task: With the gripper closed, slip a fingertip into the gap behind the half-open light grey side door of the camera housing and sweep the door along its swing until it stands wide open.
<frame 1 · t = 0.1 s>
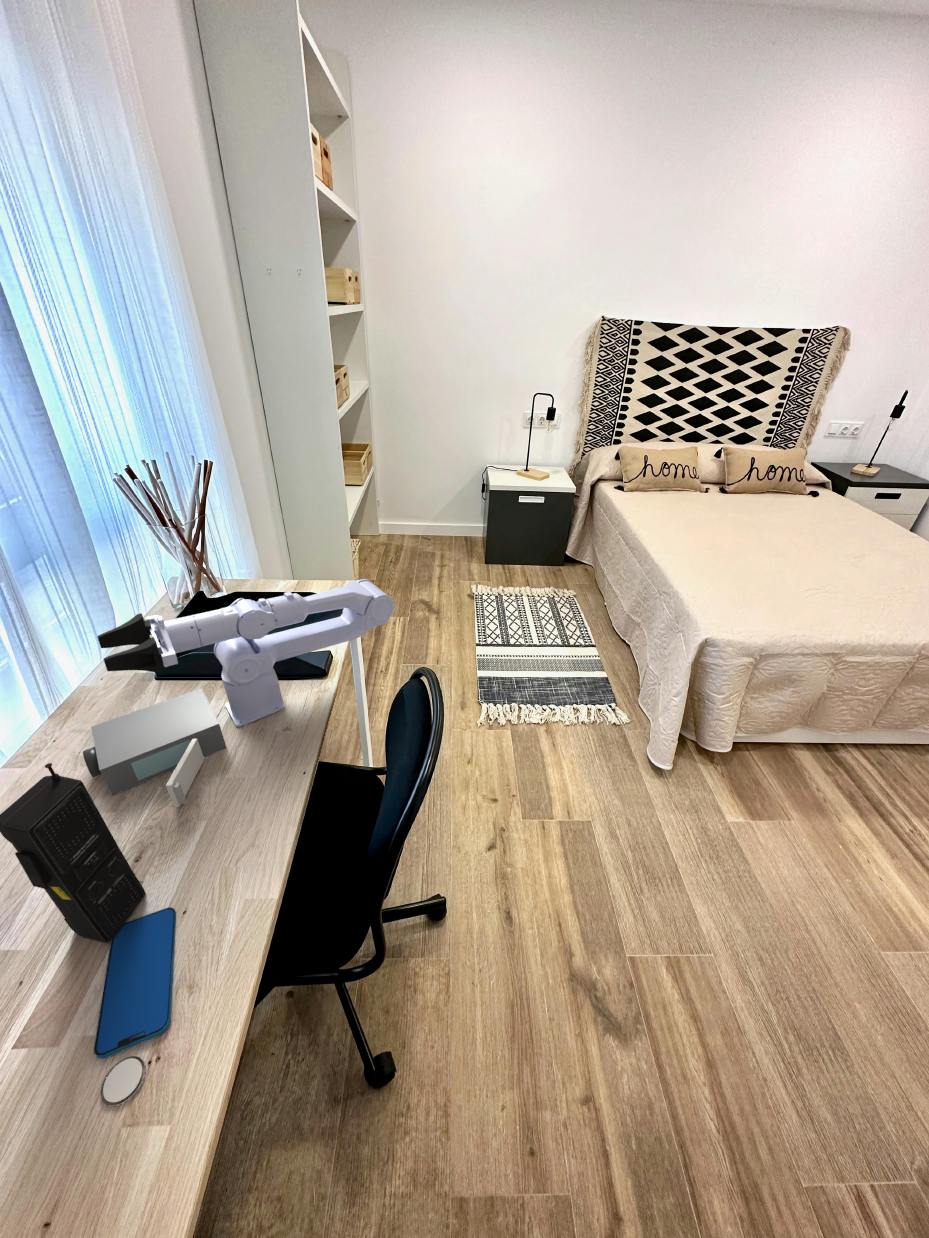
hand: (101, 653, 80), 22 cm above the table, tool horizontal, fingers open, 7 cm apart
white round disc: (125, 1082, 53), on the table
camera housing: (165, 749, 92), on the table
side door: (188, 771, 84), point 3 cm above the table, hinge at 55.0°
portable radio: (110, 918, 67), on the table
smartphone: (141, 977, 62), on the table
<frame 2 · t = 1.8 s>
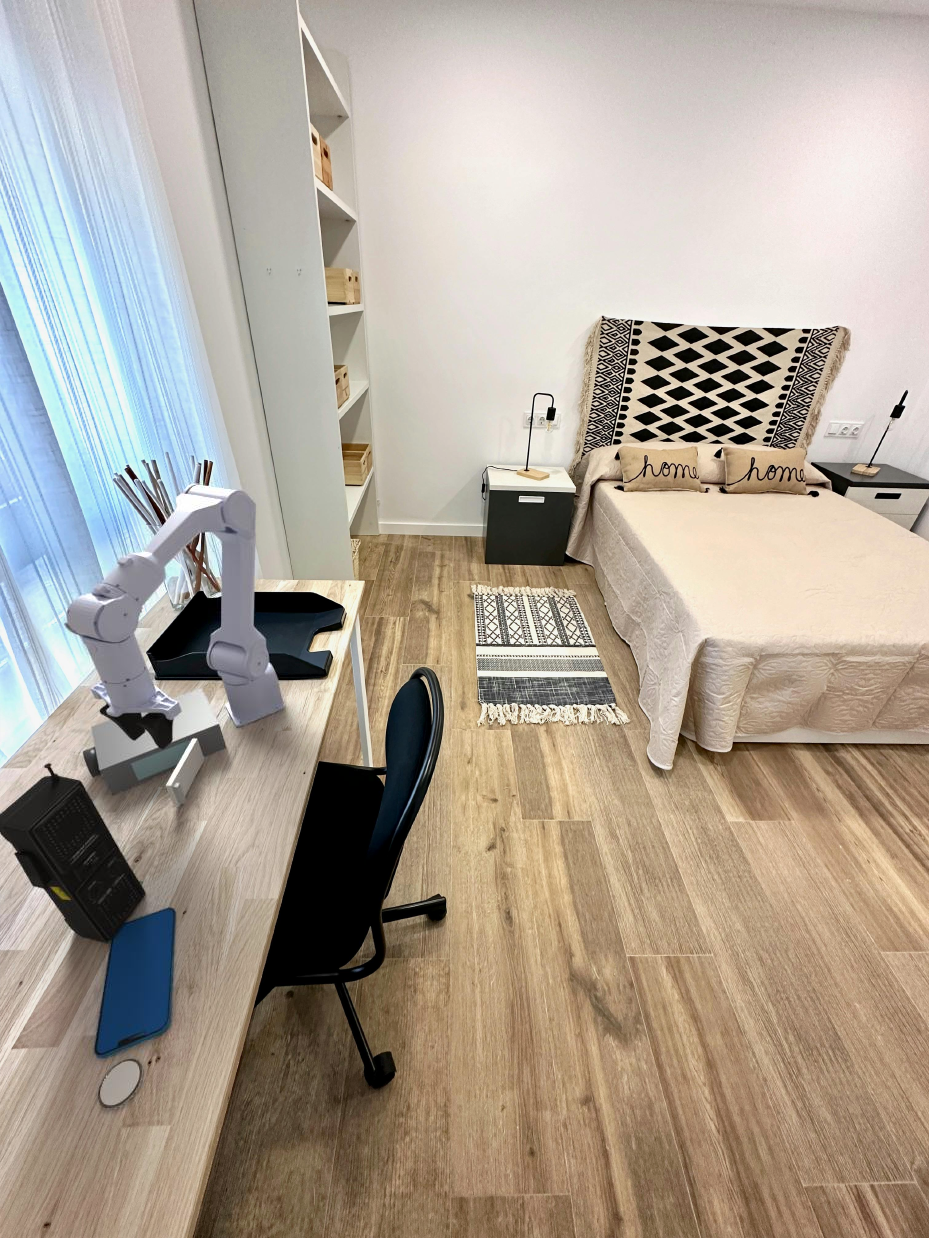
hand: (152, 740, 80), 10 cm above the table, tool pointing down, fingers open, 5 cm apart
nothing on the table moved.
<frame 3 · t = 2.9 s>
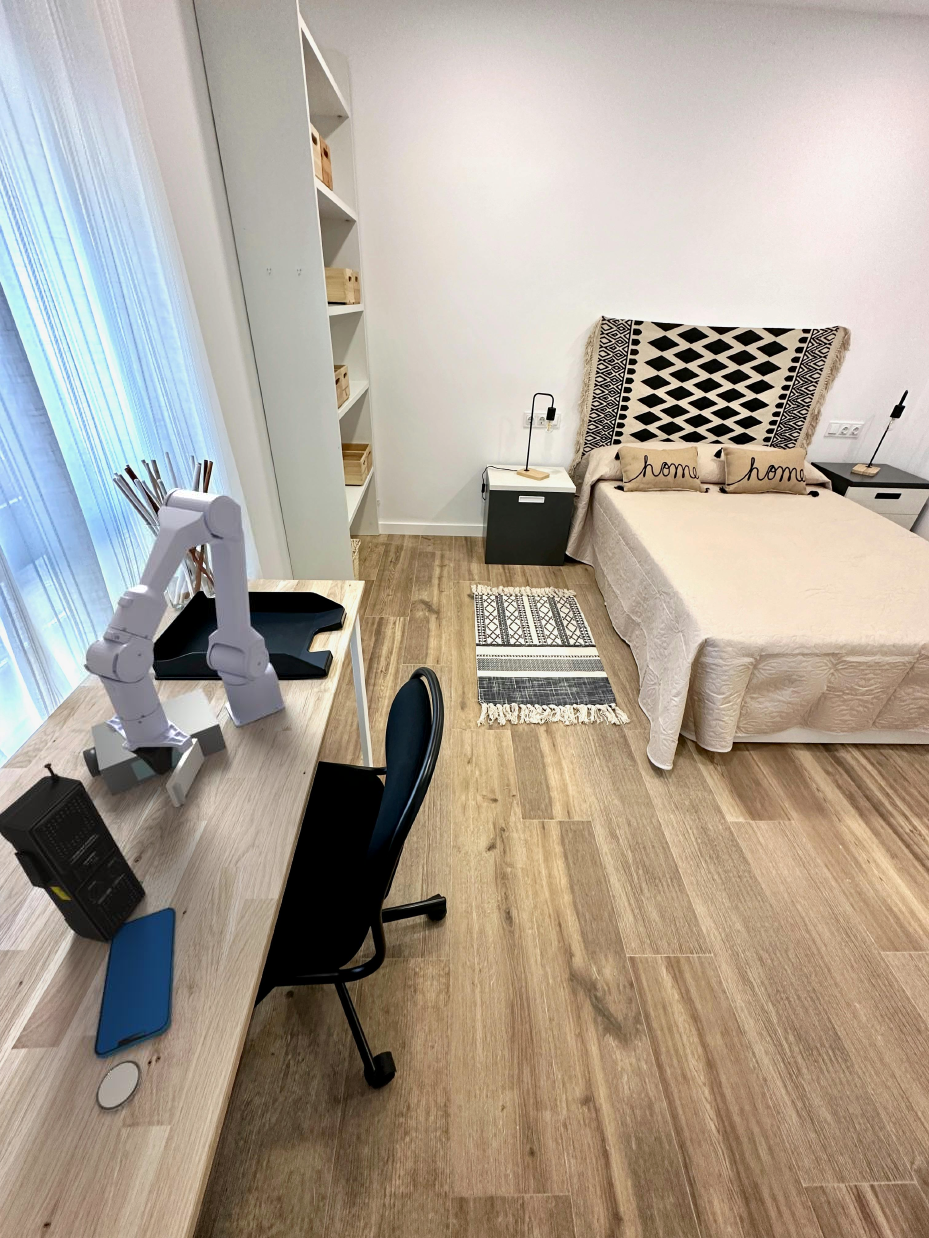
hand: (164, 770, 84), 4 cm above the table, tool pointing down, fingers closed
nothing on the table moved.
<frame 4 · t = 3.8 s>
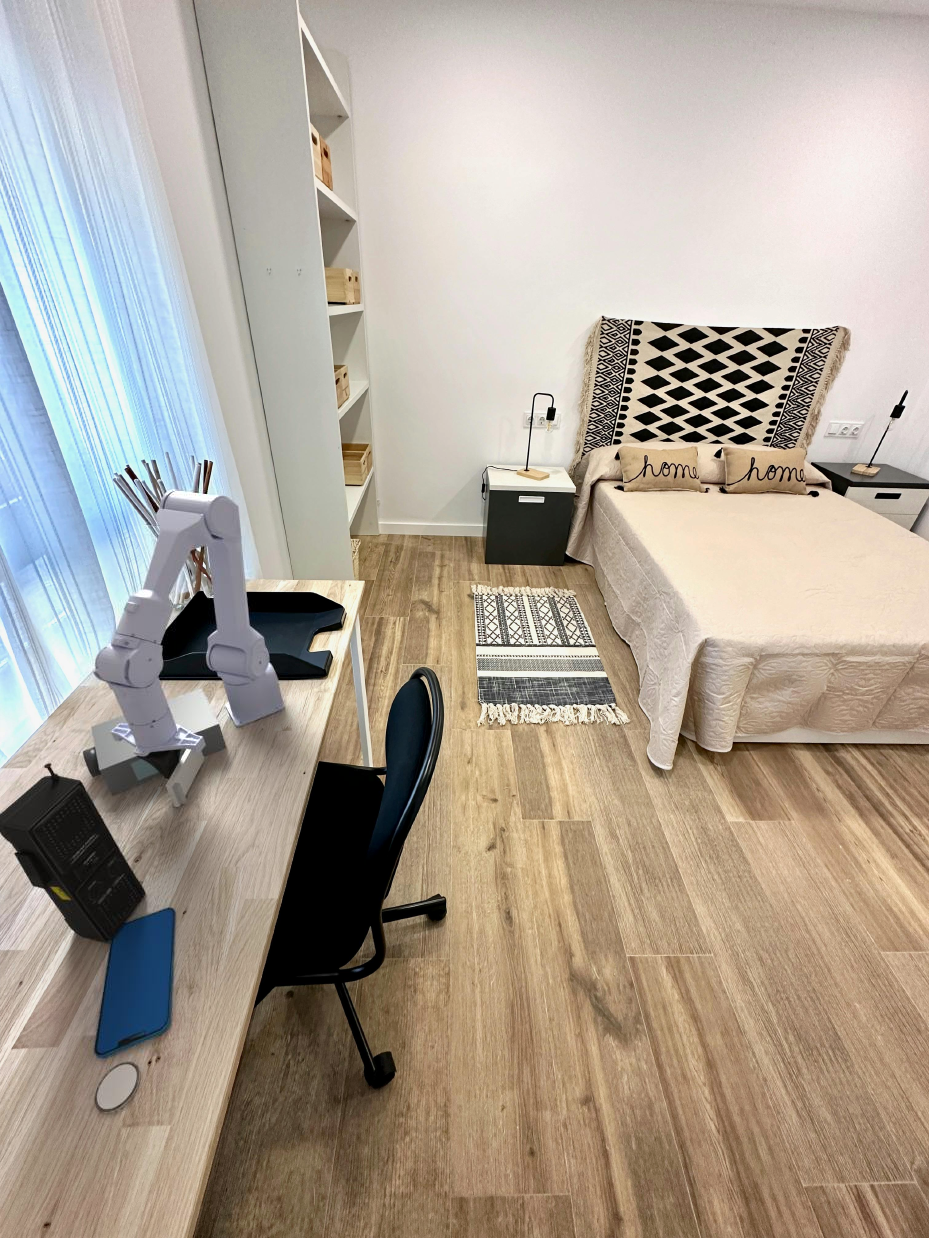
hand: (173, 774, 84), 3 cm above the table, tool pointing down, fingers closed
side door: (188, 771, 84), point 3 cm above the table, hinge at 55.0°, touching gripper
everything else where it was.
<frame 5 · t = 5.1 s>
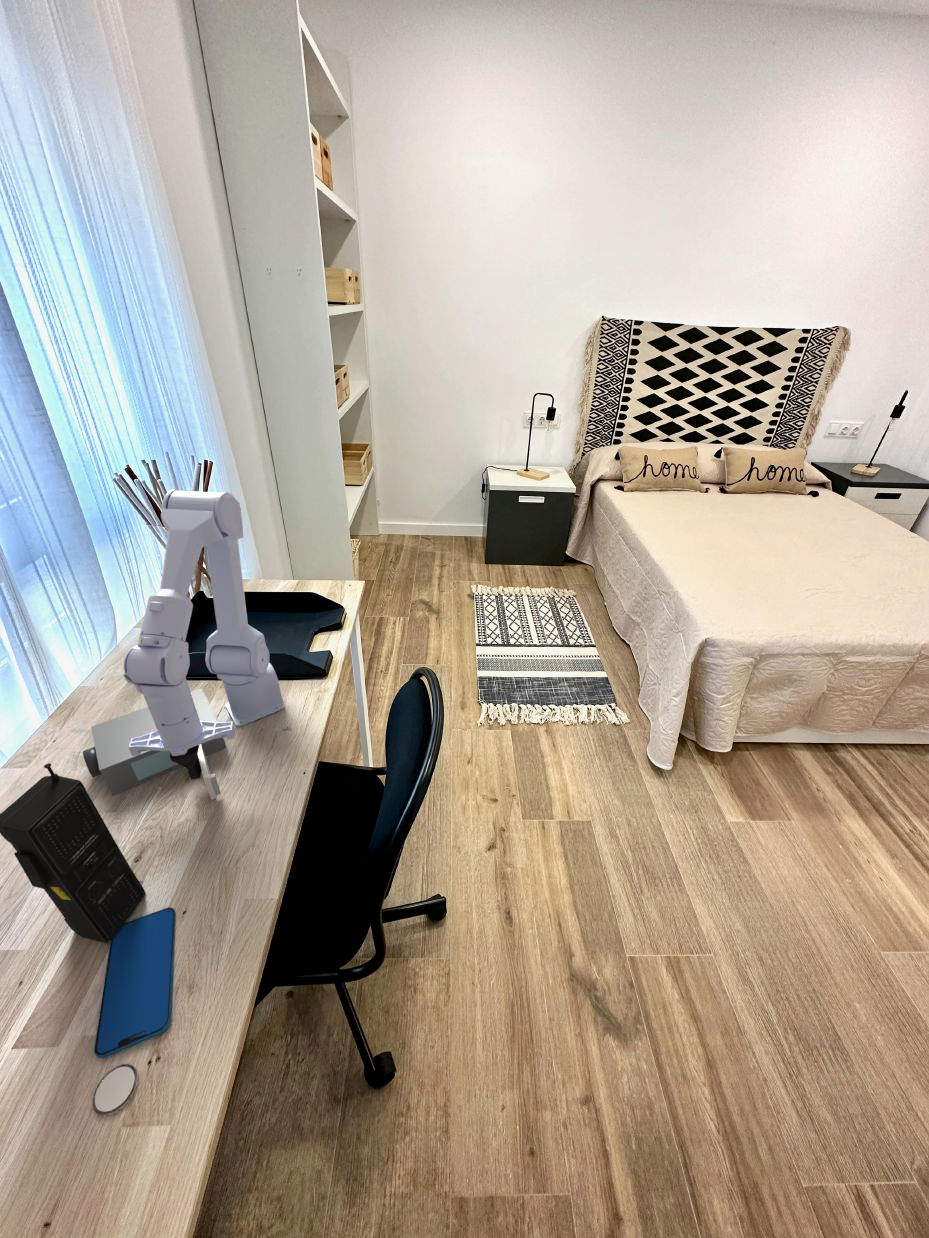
hand: (197, 774, 84), 3 cm above the table, tool pointing down, fingers closed, pressing on side door
side door: (207, 766, 85), point 3 cm above the table, hinge at 85.0°, touching gripper
everything else where it was.
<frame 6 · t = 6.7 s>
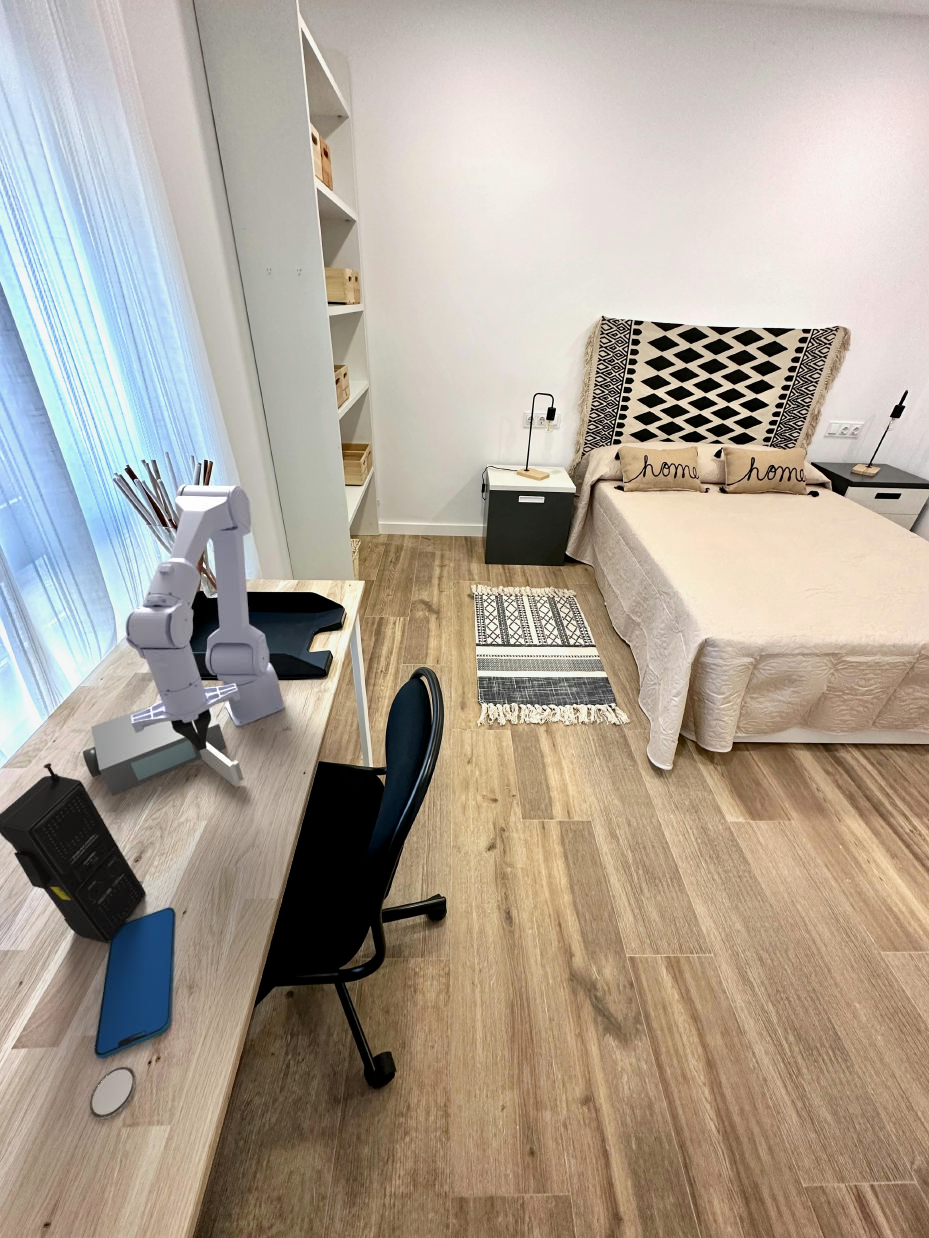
hand: (201, 745, 82), 9 cm above the table, tool pointing down, fingers closed
side door: (219, 760, 87), point 3 cm above the table, hinge at 106.8°
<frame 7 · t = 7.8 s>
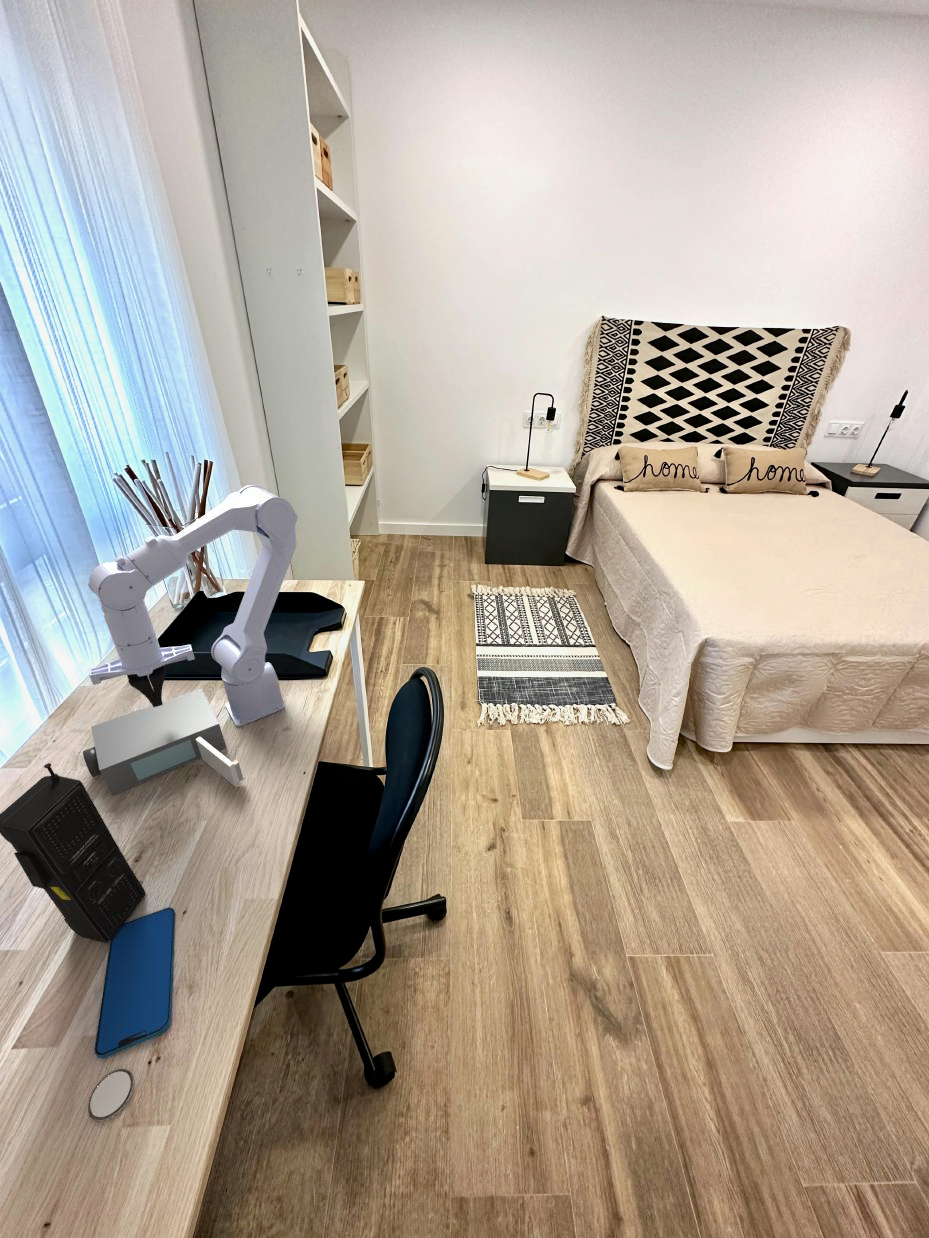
hand: (157, 702, 87), 10 cm above the table, tool pointing down, fingers closed
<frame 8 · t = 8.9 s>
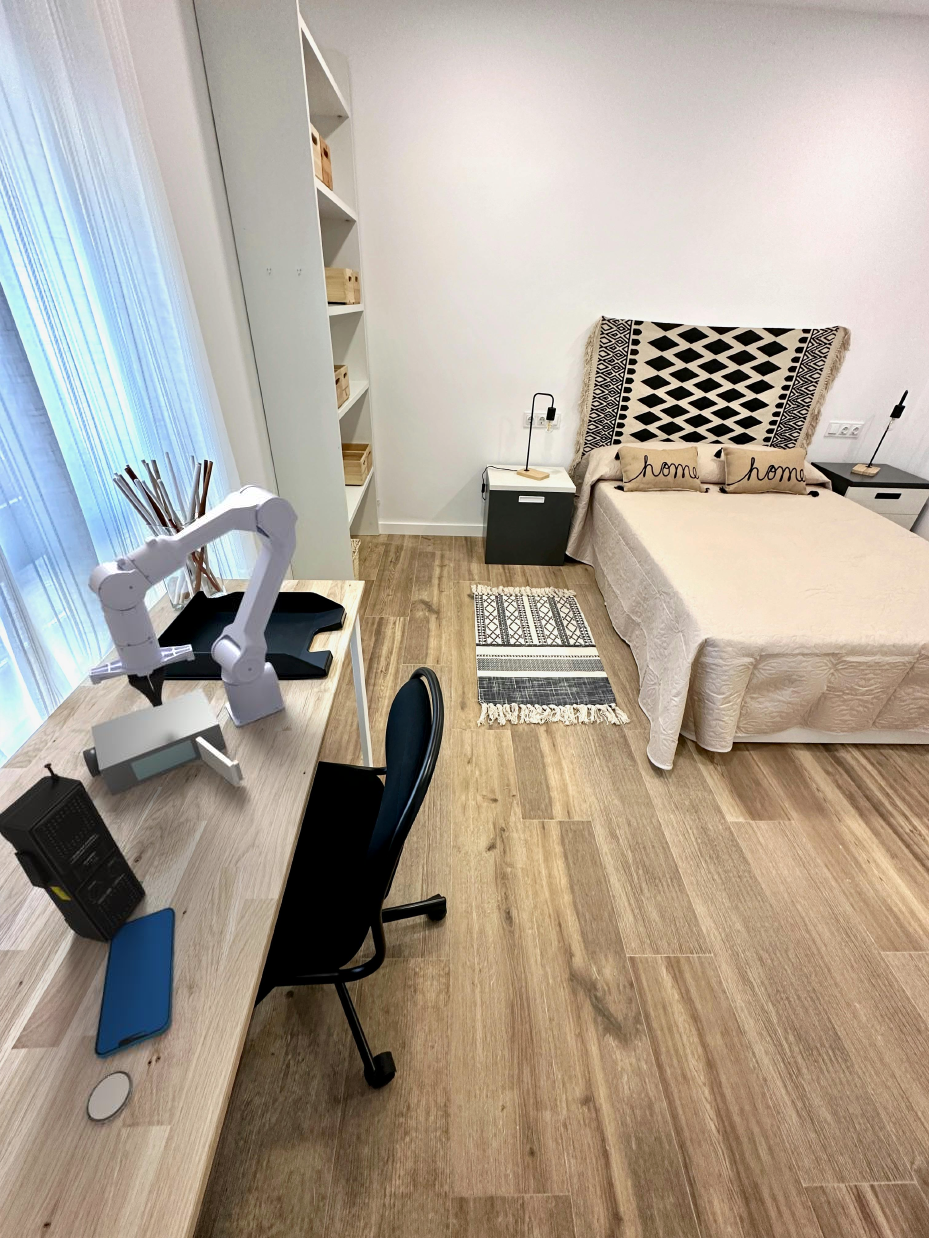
hand: (157, 702, 87), 10 cm above the table, tool pointing down, fingers closed
at the end: side door at +107° (first picture: +55°) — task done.
